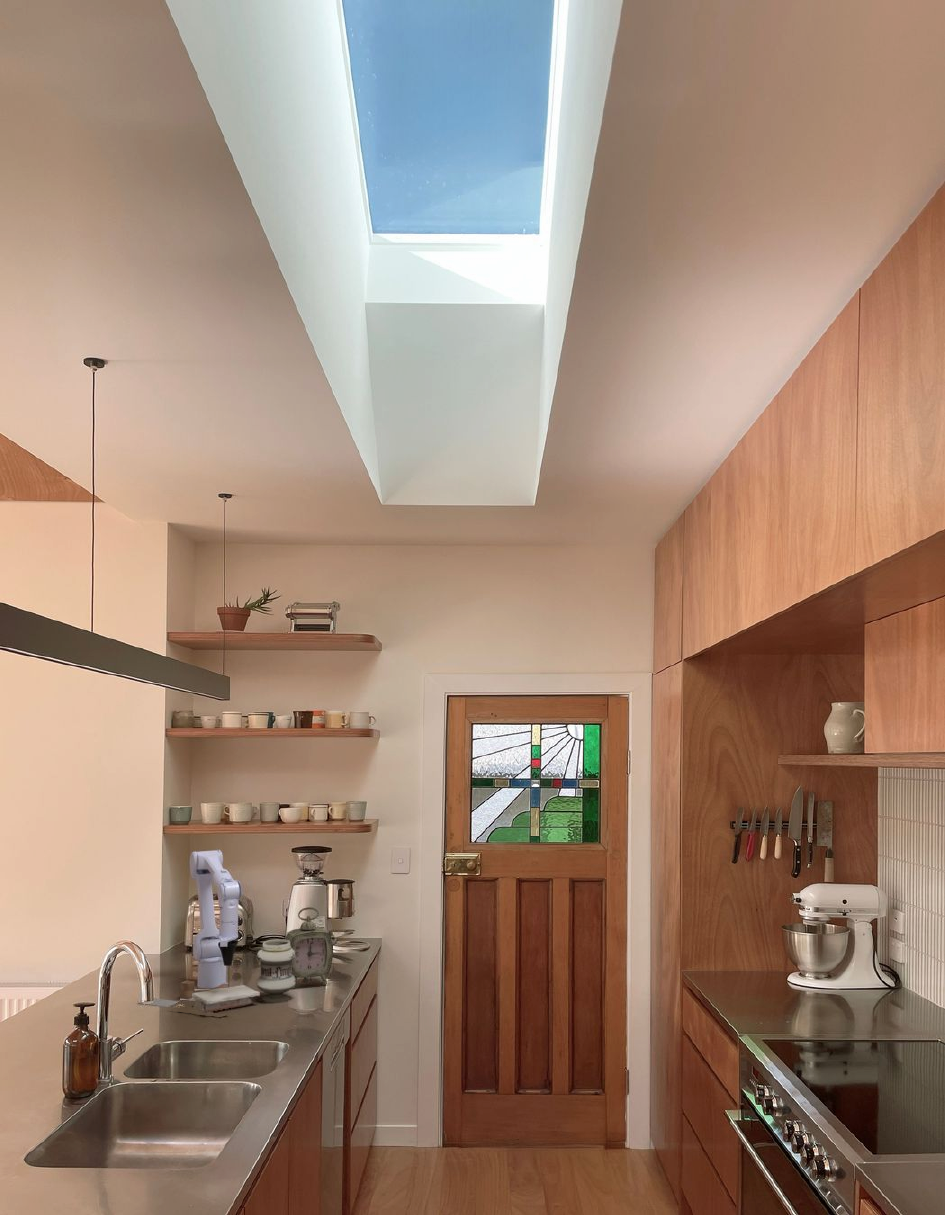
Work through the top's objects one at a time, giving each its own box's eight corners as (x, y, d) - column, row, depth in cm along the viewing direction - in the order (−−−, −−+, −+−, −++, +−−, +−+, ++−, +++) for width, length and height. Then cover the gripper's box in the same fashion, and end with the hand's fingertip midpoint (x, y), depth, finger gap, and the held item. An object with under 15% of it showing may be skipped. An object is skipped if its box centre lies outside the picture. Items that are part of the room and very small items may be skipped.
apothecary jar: (248, 1000, 332) (249, 941, 334) (279, 993, 341) (280, 935, 343) (271, 1009, 324) (273, 948, 326) (303, 1000, 333) (304, 941, 334)
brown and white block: (179, 1001, 332) (179, 983, 333) (187, 997, 336) (187, 980, 336) (203, 1004, 329) (204, 986, 329) (211, 1000, 333) (211, 983, 333)
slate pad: (149, 999, 333) (149, 997, 333) (179, 1003, 329) (179, 1001, 329) (137, 1004, 328) (137, 1002, 328) (167, 1008, 324) (167, 1006, 324)
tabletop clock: (288, 990, 344) (290, 911, 346) (281, 983, 352) (283, 906, 354) (331, 985, 350) (333, 908, 352) (324, 979, 358) (325, 903, 360)
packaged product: (190, 1008, 322) (205, 1017, 314) (191, 992, 322) (206, 1000, 315) (243, 999, 334) (259, 1007, 326) (244, 983, 334) (260, 991, 326)
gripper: (220, 916, 343) (219, 959, 342) (210, 925, 329) (209, 971, 327) (243, 916, 343) (242, 959, 342) (233, 925, 329) (232, 971, 328)
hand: (227, 965), depth 335 cm, fingers closed
